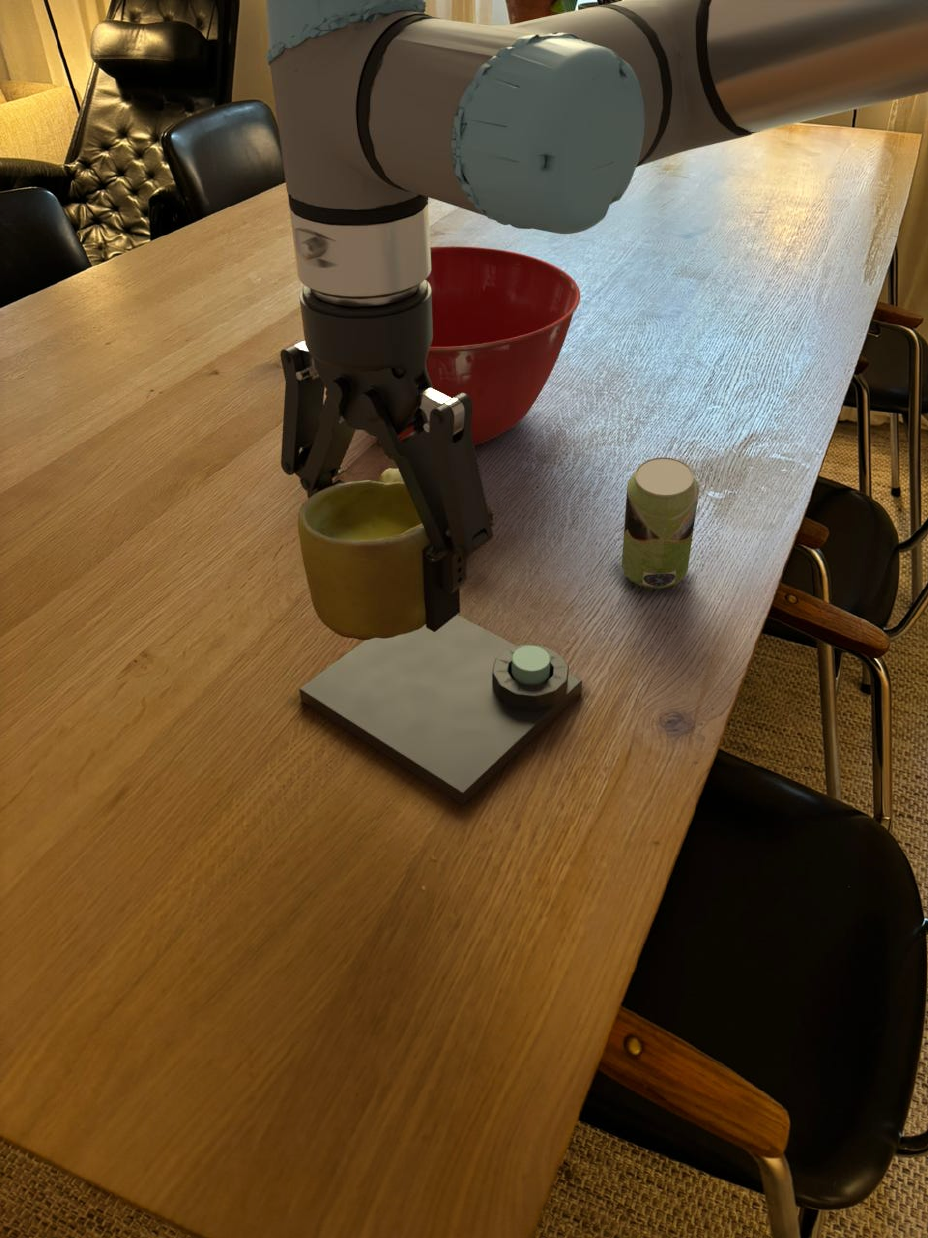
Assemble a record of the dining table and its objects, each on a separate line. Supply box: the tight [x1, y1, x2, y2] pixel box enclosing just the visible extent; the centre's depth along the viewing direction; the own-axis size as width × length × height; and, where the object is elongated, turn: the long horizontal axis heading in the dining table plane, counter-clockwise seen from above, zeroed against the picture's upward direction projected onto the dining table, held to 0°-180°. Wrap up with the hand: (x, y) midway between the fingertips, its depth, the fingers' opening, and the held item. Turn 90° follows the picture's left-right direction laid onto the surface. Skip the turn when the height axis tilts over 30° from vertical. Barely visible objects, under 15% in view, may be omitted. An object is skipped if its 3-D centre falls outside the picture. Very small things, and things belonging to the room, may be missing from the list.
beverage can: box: [621, 456, 700, 589], centre depth 88 cm, size 6×7×12 cm
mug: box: [297, 467, 431, 641], centre depth 68 cm, size 12×10×10 cm
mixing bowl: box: [398, 245, 581, 447], centre depth 110 cm, size 28×28×16 cm
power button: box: [512, 646, 550, 685], centre depth 78 cm, size 3×3×2 cm
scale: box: [298, 614, 583, 806], centre depth 79 cm, size 17×15×3 cm
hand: (388, 591), depth 70 cm, fingers closed on mug, 9 cm apart
